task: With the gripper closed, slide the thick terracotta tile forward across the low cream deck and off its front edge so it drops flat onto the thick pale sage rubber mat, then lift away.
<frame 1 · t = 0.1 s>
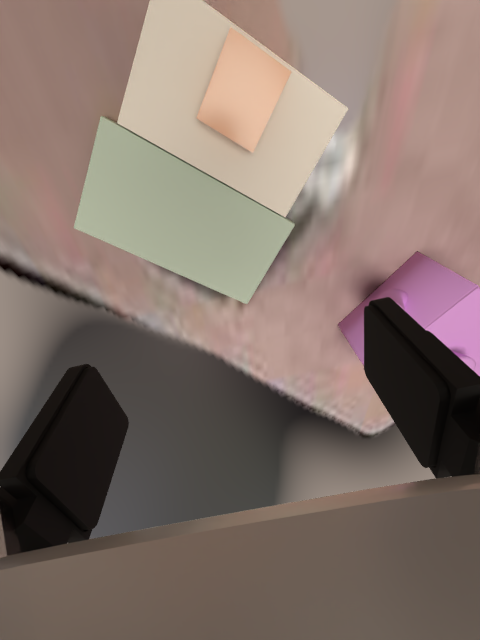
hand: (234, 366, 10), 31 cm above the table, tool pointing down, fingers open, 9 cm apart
cream deck: (232, 117, 32), on the table
teapot: (394, 307, 47), on the table
terracotta tile: (240, 99, 29), point 3 cm above the table, touching cream deck
sage mat: (187, 223, 38), on the table
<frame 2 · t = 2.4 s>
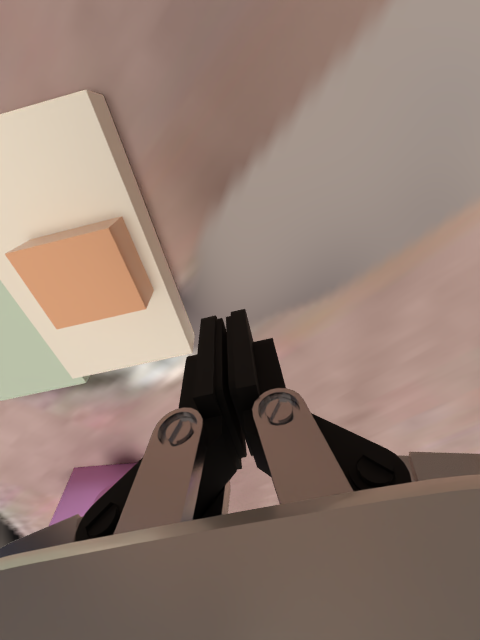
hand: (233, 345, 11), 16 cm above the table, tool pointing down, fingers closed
cream deck: (91, 256, 25), on the table
teapot: (138, 482, 44), on the table
terracotta tile: (95, 266, 23), point 3 cm above the table, touching cream deck
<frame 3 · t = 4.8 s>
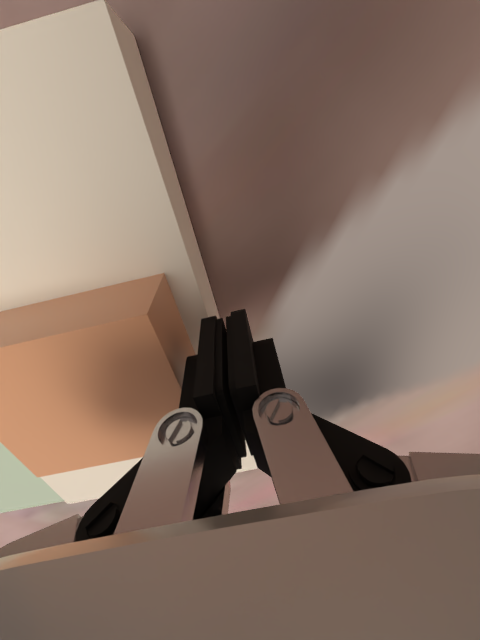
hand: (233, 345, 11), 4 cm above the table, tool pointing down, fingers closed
cream deck: (101, 325, 15), on the table
terracotta tile: (110, 355, 13), point 3 cm above the table, touching cream deck, gripper
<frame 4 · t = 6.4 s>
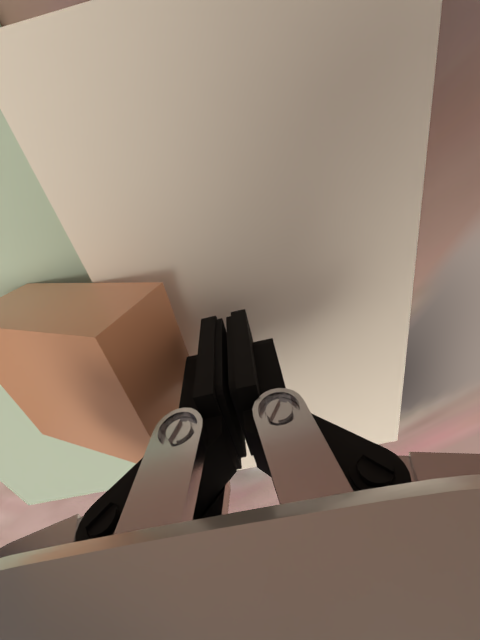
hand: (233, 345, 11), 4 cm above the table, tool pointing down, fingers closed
cream deck: (257, 287, 15), on the table
terracotta tile: (118, 346, 13), point 3 cm above the table, tilted 25°, touching sage mat
sage mat: (22, 340, 16), on the table
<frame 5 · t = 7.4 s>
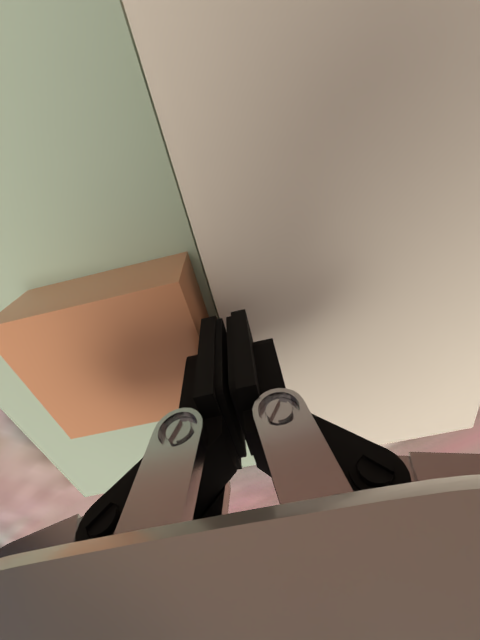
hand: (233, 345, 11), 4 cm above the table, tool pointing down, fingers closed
cream deck: (341, 270, 14), on the table
terracotta tile: (135, 329, 14), point 1 cm above the table, touching gripper, sage mat
sage mat: (97, 325, 15), on the table
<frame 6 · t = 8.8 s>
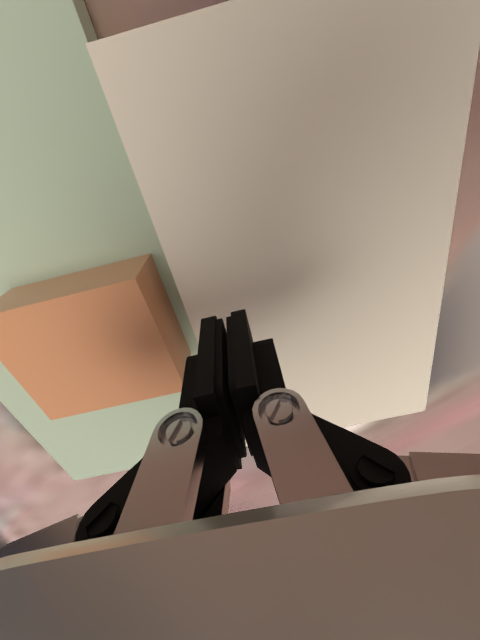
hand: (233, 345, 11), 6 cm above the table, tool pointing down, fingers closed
cream deck: (299, 267, 16), on the table
terracotta tile: (108, 323, 15), point 1 cm above the table, touching sage mat
sage mat: (82, 319, 17), on the table
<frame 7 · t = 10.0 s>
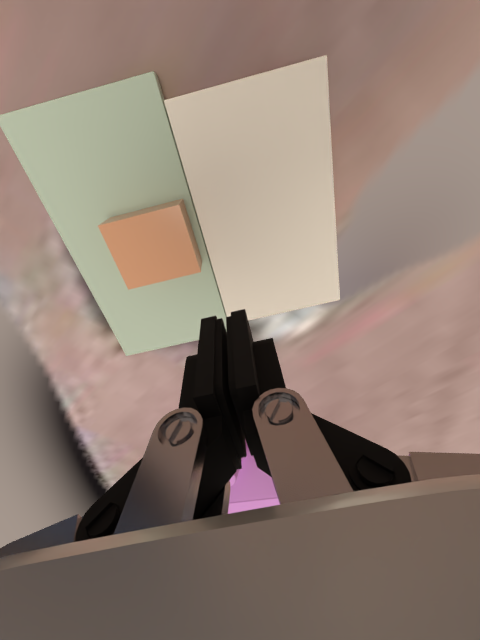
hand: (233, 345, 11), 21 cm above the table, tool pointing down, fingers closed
cream deck: (263, 211, 29), on the table
teapot: (232, 443, 47), on the table
terracotta tile: (158, 240, 28), point 1 cm above the table, touching sage mat
sage mat: (140, 242, 30), on the table
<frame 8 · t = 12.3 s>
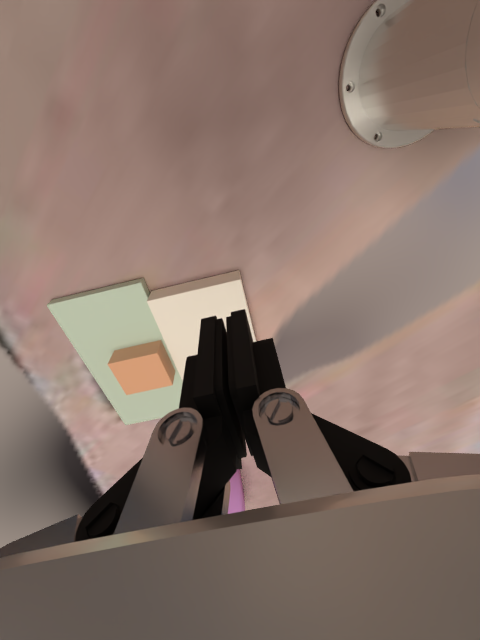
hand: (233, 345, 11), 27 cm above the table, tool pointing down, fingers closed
cream deck: (215, 340, 44), on the table
teapot: (204, 477, 63), on the table
terracotta tile: (145, 361, 43), point 1 cm above the table, touching sage mat
sage mat: (134, 358, 45), on the table
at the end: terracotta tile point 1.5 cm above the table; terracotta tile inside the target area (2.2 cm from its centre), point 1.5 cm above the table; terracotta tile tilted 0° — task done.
